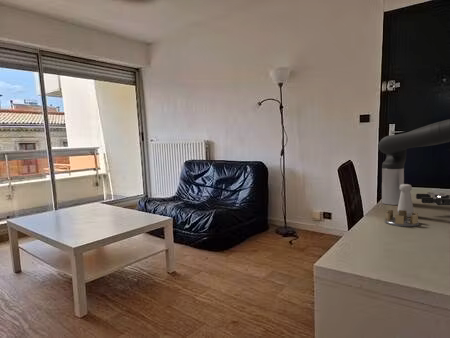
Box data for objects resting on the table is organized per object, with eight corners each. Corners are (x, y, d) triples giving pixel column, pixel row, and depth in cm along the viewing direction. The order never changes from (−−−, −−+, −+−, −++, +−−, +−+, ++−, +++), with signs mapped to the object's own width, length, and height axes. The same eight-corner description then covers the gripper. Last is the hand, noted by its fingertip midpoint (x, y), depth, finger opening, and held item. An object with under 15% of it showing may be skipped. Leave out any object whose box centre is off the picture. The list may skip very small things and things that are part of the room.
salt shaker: (415, 215, 122) (415, 184, 121) (412, 218, 118) (412, 185, 117) (399, 213, 126) (399, 183, 125) (395, 216, 122) (395, 184, 121)
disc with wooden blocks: (387, 218, 120) (387, 208, 120) (419, 221, 113) (419, 211, 113) (382, 224, 111) (382, 214, 111) (417, 228, 105) (417, 217, 104)
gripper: (461, 187, 121) (414, 186, 126) (476, 192, 108) (423, 191, 113) (460, 205, 121) (414, 203, 127) (475, 213, 108) (423, 211, 114)
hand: (418, 198), depth 120 cm, fingers open, 8 cm apart
